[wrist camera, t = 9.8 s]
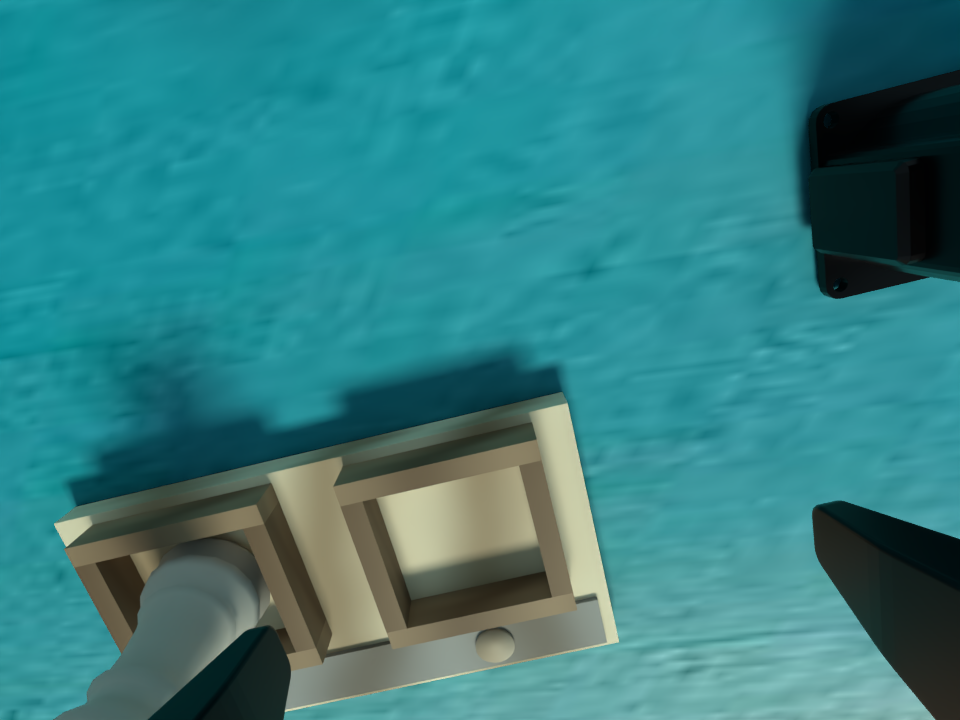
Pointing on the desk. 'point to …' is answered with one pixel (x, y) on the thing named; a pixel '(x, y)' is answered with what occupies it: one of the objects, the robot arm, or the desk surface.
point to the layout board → (384, 550)
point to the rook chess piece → (179, 628)
